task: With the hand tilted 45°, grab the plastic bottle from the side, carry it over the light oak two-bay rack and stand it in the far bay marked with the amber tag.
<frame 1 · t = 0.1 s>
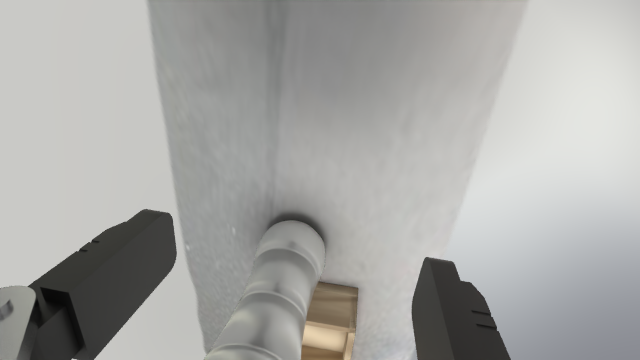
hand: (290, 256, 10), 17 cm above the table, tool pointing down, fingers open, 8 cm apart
plastic bottle: (297, 238, 32), on the table
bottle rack: (309, 338, 39), on the table
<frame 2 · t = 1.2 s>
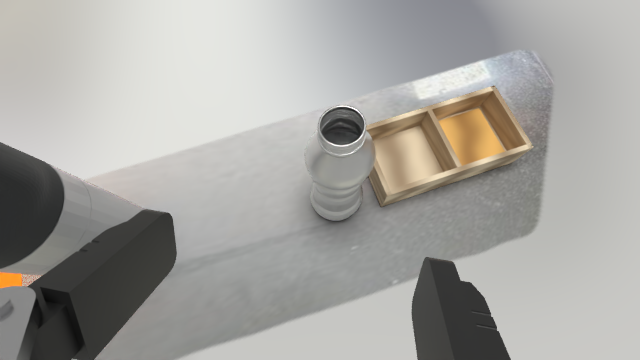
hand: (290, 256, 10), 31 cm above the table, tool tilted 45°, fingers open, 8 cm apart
plastic bottle: (336, 200, 43), on the table
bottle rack: (432, 154, 45), on the table
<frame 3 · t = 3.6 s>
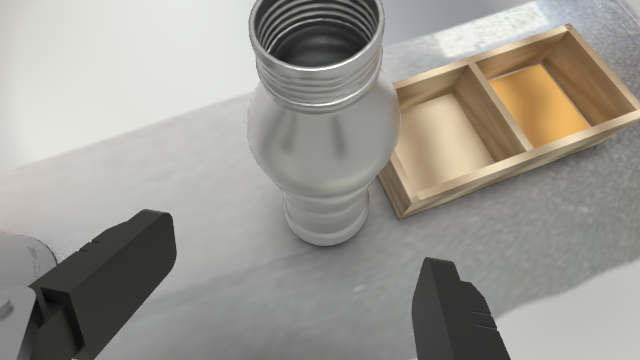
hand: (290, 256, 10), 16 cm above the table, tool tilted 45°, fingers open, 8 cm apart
plastic bottle: (327, 212, 27), on the table
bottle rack: (472, 135, 29), on the table
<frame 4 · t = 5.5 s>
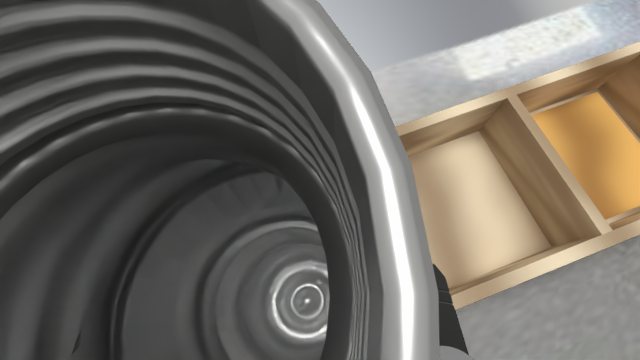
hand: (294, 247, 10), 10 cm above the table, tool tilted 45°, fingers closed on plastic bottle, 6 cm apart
plastic bottle: (308, 300, 20), on the table, touching gripper
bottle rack: (507, 189, 21), on the table
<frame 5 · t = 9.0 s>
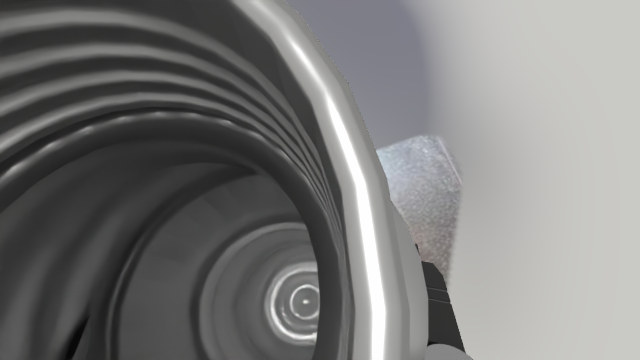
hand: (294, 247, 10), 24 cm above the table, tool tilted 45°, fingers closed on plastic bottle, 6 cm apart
plastic bottle: (307, 301, 20), point 13 cm above the table, touching gripper
when the fingers open (13 cm above the table, at t = 12.2 s): plastic bottle drops 1 cm, resting on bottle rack.
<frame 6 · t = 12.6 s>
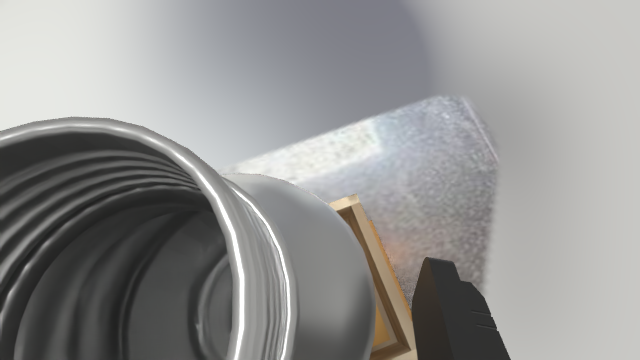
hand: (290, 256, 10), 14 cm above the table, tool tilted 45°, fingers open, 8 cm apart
plastic bottle: (299, 303, 21), point 1 cm above the table, touching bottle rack
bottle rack: (247, 325, 22), on the table
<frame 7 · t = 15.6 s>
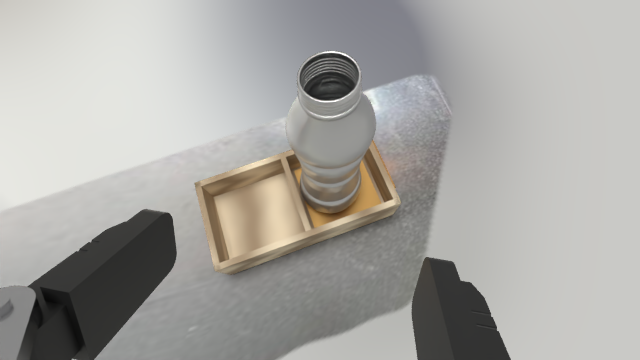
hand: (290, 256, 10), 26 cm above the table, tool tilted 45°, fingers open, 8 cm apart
plastic bottle: (330, 190, 37), point 1 cm above the table, touching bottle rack
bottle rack: (300, 205, 37), on the table
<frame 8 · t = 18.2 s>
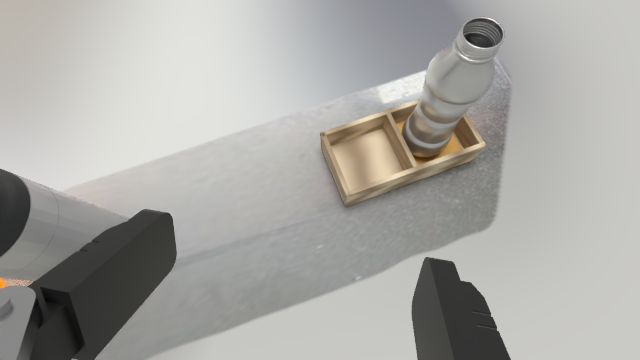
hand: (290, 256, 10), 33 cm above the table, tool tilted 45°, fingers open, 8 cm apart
plastic bottle: (421, 142, 46), point 1 cm above the table, touching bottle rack
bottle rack: (394, 155, 47), on the table
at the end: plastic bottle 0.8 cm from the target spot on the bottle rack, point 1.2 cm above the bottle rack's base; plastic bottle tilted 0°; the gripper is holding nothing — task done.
